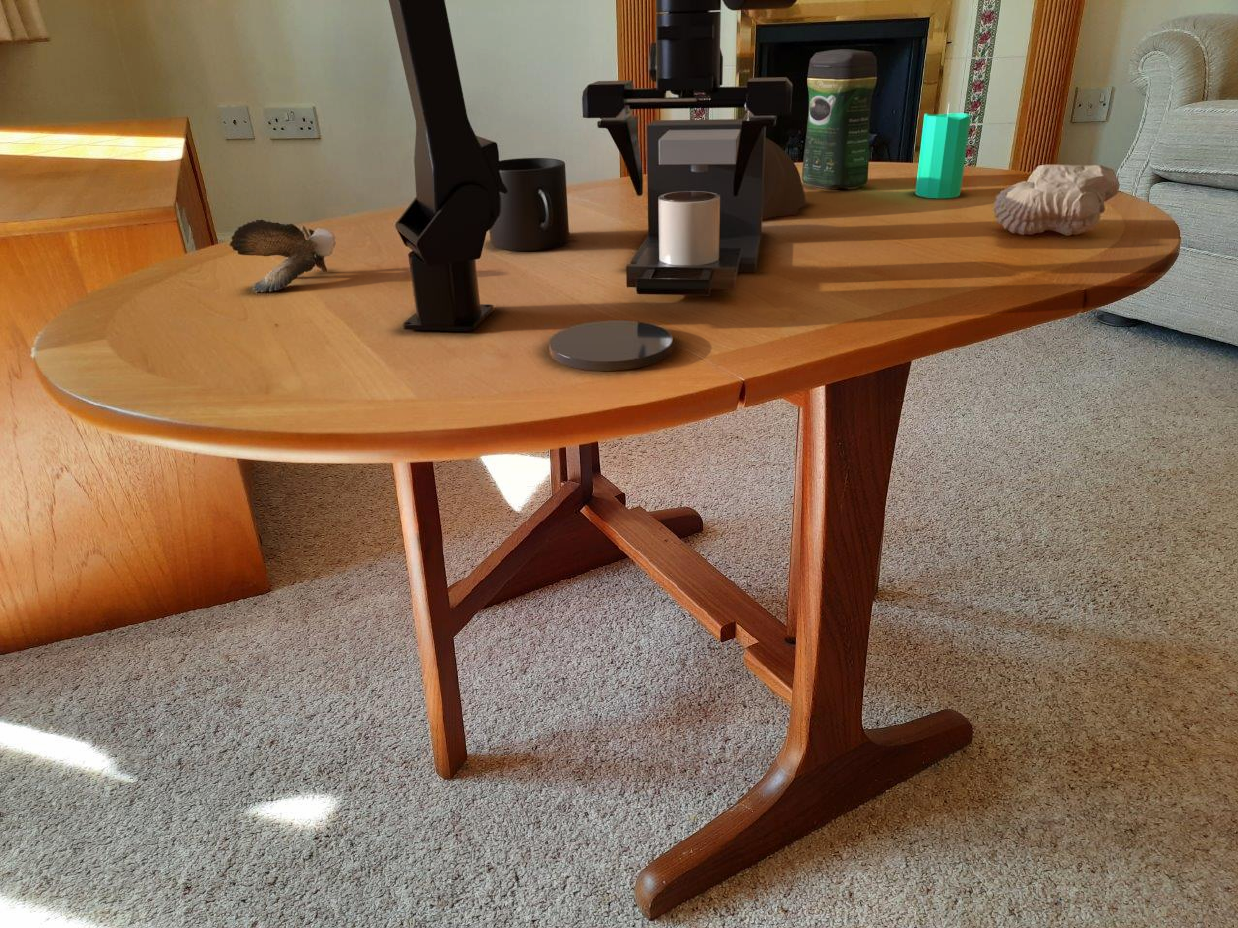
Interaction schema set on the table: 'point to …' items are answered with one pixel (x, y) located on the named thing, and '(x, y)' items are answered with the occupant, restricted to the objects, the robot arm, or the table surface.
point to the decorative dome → (780, 183)
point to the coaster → (611, 345)
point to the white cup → (689, 227)
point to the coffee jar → (839, 118)
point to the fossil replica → (1057, 199)
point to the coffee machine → (707, 178)
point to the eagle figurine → (283, 250)
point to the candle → (942, 155)
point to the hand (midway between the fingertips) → (687, 195)
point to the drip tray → (683, 274)
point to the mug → (532, 205)
